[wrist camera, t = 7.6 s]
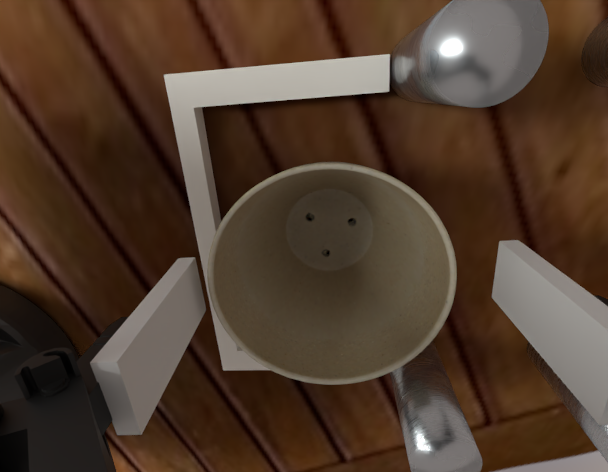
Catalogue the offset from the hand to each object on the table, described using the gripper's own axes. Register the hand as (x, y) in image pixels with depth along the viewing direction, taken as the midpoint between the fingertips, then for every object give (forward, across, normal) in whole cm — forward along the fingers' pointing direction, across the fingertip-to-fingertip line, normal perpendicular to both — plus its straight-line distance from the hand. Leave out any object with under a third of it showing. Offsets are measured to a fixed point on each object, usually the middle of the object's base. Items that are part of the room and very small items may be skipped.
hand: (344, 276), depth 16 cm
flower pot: (+6, 0, 0) cm, 6 cm away
